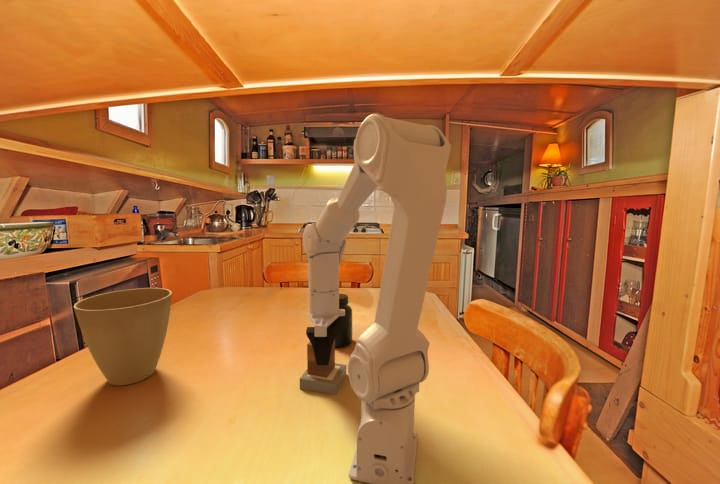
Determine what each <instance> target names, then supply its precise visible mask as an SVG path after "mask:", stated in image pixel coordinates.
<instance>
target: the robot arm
mask: <svg viewBox="0 0 720 484" xmlns="http://www.w3.org/2000/svg"><path fill="white" fill-rule="evenodd" d="M451 148H452V145H451V143H450V141H449V140H448V139H447V137H446V136H445V134H444V133H443V132H442V131H441V129H440V128H439V127H437V126H435V125H433V124H432V125H431V124H428V125H425V124H420V123H415V122H410V121H407V120H402V119H401V120H400V119H396V118H392V117H387V116H385V115H382V114H380V113H372V114H370V115H368V116H367V117H365V119H364V120H363V121H362V122H361V124H360V125H359V127H358V129H357V133H356V136H355V138H354V140H353V161H354V164H353V167H352V168H351V170H350V172H349V174H348V176H347V179H346V181H345V184H344V185H343V188H342V189H341V192H340V193H339V196H334V197H332V198H331V199H329V200H328V201H327V203H326V205H325V207H324V208H323V210H322V212H321V213H320V215H319V217H318V218H317V220H316V222H312V223H308V224H306V225H305V227H304V230H303V232H302V233H303V235H302V245H303V250H304V252H305V254H306V256H308V259H307V261H308V310H307V317H308V318H309V320H310V322H311V323H312V325H313V326H307V327H306V329H305V335H306V337H307V338H308V340H309V342H311V344H312V347H313V351H314V355H315V360H316V363H317V365H328V364H329V360H330V354H331V349H332V345H333V342H334V340H335V338H336V336H337V334H338V329H335V326H336V323H337V321H338V319H339V316H345V310H344V309H339V294H340V265H341V264H342V262H343V255H344V252H345V248H346V245H347V244H346V242H347V241H346V238H347V236H348V235H349V233H350V232H351V231H352V229H353V228H354V227H355V225H357V223H358V222H359V219H360V211H359V209H360V208H361V206H362V205H363V204H364V203H365V202H366V201H367V200H368V199H369V197H370V196H371V195H372V194H373V193H374V192H375V190H376V189H377V188H379V190H381V191H383V192H384V193H386V194H388V196H389V197H390V200H391V201H392V203H393V206H394V208H393V213H392V217H391V218H392V219H391V222H390V223H391V224H390V231H389V237H388V242H387V248H386V253H385V260H384V264H383V265H384V266H383V272H382V276H381V281H380V282H381V283H380V288H379V293H378V300H377V305H376V310H375V311H376V312H375V315H374V316H375V318H374V322H373V323H372V324H371V325H370V326H368V328H367V329H366V330H364V332H362V333H361V334H360V336H358V337H357V339H356V343H355V347H354V349H353V351H352V352H351V354H350V356H349V360H348V363H347V374H348V378H349V383H350V386H351V388H352V390H353V392H354V394H355V395H356V396H357V398H359V399H360V400H361V403H360V404H361V406H360V407H361V408H360V409H361V410H360V413H361V414H360V423H359V427H358V429H357V433H356V451H355V453H354V455H353V459H352V461H351V465H350V468H349V472H348V477H349V478H350V479H351V480H355V481H358V482H362V483H366V484H367V483H368V484H414V482H415V471H416V456H417V448H418V447H417V446H418V445H417V444H418V434H417V433H416V432H415V410H416V409H415V407H416V405H415V403H416V394H417V393H419V392H420V384H421V383H423V382H424V381H425V380H427V378H428V376H429V371H430V362H429V356H428V355H429V353H428V352H429V347H430V342H429V340H428V339H427V337H426V336H425V334H424V333H423V332H422V331H421V330H420V329H419V323H420V317H421V314H422V310H423V305H424V300H425V297H426V292H427V287H428V283H429V279H430V278H429V277H430V275H431V269H432V264H433V261H434V256H435V251H436V247H437V243H438V239H439V234H440V229H441V225H442V220H443V216H444V211H445V207H446V202H447V196H448V190H447V178H446V177H447V175H446V171H447V167H448V162H449V159H450V153H451Z"/></svg>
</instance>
